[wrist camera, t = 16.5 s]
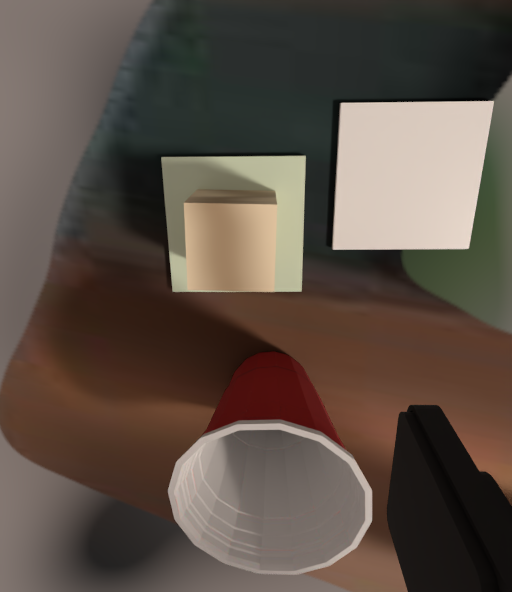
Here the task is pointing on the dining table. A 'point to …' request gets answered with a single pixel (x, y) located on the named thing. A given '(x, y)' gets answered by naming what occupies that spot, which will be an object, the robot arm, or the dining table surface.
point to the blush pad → (408, 174)
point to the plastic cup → (271, 476)
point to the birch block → (231, 240)
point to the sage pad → (239, 176)
